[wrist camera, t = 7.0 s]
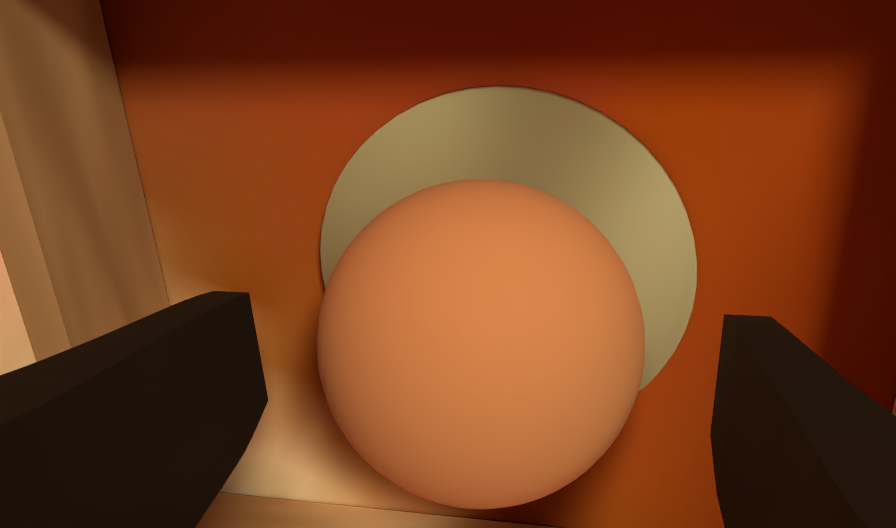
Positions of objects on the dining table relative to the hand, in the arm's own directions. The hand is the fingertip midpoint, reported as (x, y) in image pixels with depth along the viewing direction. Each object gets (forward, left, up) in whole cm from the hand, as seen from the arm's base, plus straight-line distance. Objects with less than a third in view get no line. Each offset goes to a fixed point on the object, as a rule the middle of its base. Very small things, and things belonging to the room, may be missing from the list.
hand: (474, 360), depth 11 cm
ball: (0, 0, -3) cm, 3 cm away
